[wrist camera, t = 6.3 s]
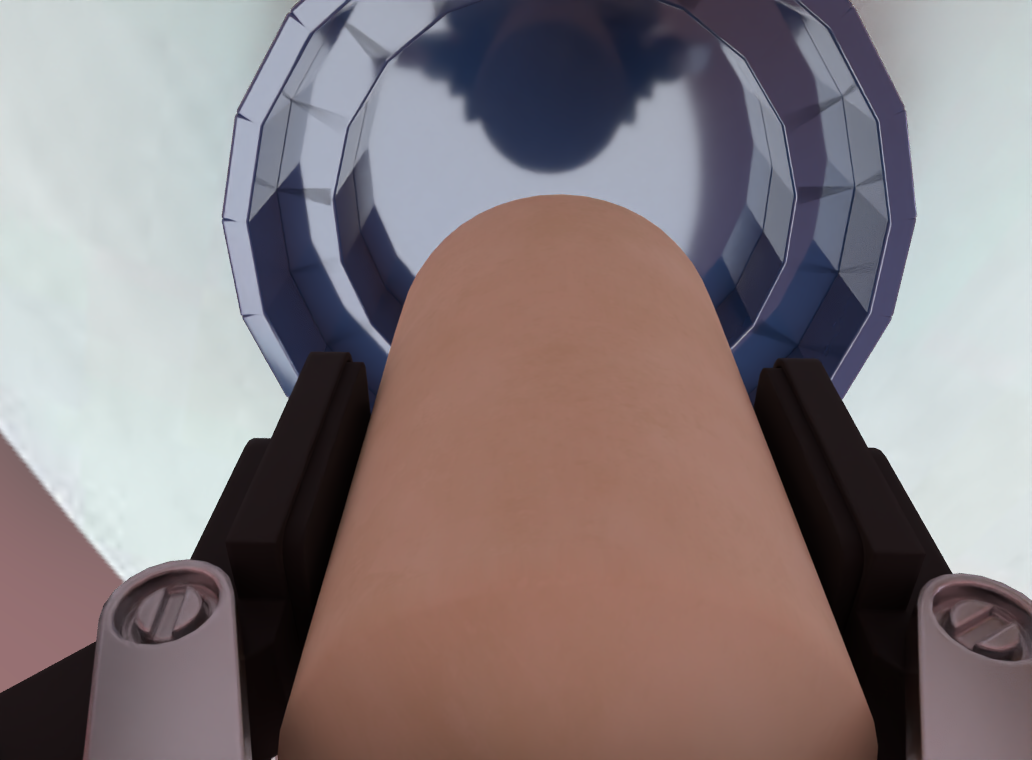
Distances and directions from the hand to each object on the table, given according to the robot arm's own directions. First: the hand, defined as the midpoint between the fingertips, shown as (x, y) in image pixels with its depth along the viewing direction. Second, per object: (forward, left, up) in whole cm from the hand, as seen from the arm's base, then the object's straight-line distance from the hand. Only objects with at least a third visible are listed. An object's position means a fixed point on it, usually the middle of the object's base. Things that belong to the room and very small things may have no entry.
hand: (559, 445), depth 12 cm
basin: (0, 0, -13) cm, 13 cm away
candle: (0, 0, -3) cm, 3 cm away
